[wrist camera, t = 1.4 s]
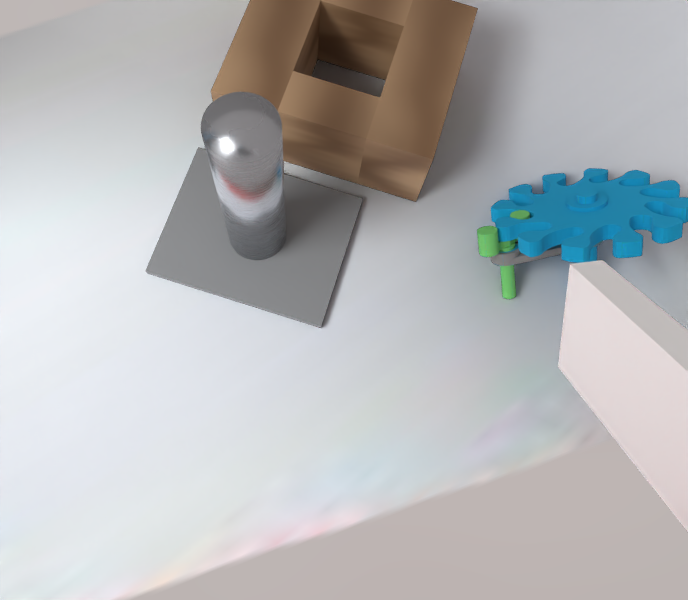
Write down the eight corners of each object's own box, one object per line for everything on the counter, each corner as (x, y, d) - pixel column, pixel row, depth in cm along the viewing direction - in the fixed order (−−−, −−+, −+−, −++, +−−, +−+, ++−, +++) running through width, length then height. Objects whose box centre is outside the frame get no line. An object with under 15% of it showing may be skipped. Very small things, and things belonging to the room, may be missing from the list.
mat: (147, 273, 36) (145, 270, 35) (199, 150, 38) (198, 147, 38) (320, 328, 35) (321, 326, 35) (362, 201, 38) (362, 198, 37)
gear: (633, 145, 38) (740, 206, 30) (630, 236, 41) (727, 314, 33) (450, 186, 38) (503, 258, 30) (460, 273, 41) (512, 362, 33)
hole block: (221, 141, 38) (210, 90, 34) (275, 10, 41) (273, -54, 37) (415, 201, 38) (433, 159, 33) (456, 65, 41) (478, 8, 36)
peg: (220, 250, 36) (188, 148, 25) (239, 200, 37) (217, 82, 26) (275, 267, 36) (266, 172, 25) (293, 217, 37) (292, 105, 26)
